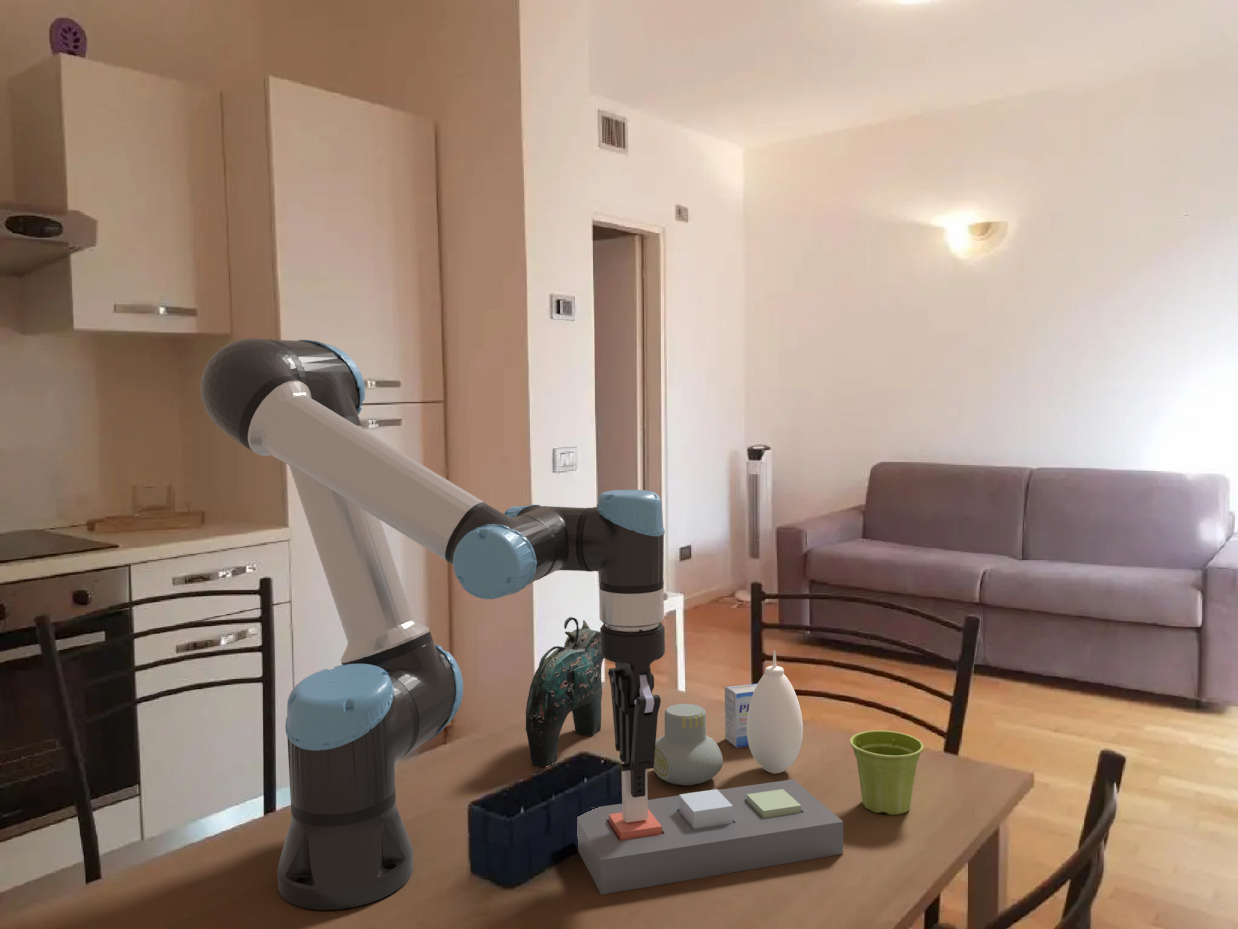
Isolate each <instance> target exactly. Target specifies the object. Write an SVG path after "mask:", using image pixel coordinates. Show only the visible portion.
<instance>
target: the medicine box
mask: <svg viewBox="0 0 1238 929" xmlns="http://www.w3.org/2000/svg"><path fill="white" fill-rule="evenodd" d="M757 684H758V683H751V684H743V685H732V686H725V687H724V738H725V739H726V741H728V742H729V744H731V745H733V746H734V747H735V748H736V749H740V748H749V744H748V739H747V715H748V710H749V705H750V702H751V698H752V695H753V693H754V690H755V688H756V686H757Z"/></svg>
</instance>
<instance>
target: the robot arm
mask: <svg viewBox="0 0 1238 929" xmlns="http://www.w3.org/2000/svg"><path fill="white" fill-rule="evenodd" d="M200 396H201V400H202V402H201V403H203V407H204V410H205V412H206V413H207V415H208V417H209V419H210V420H211V421H212V422H213V424H215V425H216V426H217V428H219V429H220V431H222V432H223V433H224V434H225V435H226V436H228V437H229V438H232V440H233V441H235V442H237V443H238V444H240V445H241V446H243V447H245V448H247V449H248V450H250V451H252V453H254V454H256V455H257V456H261V457H270V456H272V457H274V458H276V459H277V460H279V461H281V462H284V463H285V464H286V465H288V466H289V469H290V473H291V475H292V480H293V482H294V484H295V487H296V490H297V493H298V496H299V500H300V503H301V505H302V508H303V511H304V514H305V517H306V520H307V524H308V527H309V529H310V532H311V535H312V536H311V537H312V539H313V542H314V545H315V548H316V551H317V553H318V556H319V559H320V562H321V566H322V569H323V572H324V574H325V577H326V581H327V584H328V587H329V590H330V592H331V596H332V598H333V602H334V605H335V607H336V611H337V614H338V617H339V621H340V623H341V626H342V629H343V631H344V635H345V638H346V640H347V646H346V648H345V650H344V653H343V654H342V656H341V658H340V663H341V664H340V665H337V666H334V668H331V669H327V668H324V669H322V670H318V671H316V672H313V673H312V674H310V675H308V676H307V677H304V678H303V679H302V680H301V681H300V682H298V683H297V684H296V685H295V686H294V687H293V689H291V691H290V693H289V696H288V698H287V705H286V706H287V707H286V711H287V712H286V719H285V723H284V724H285V733H286V737H287V738H286V739H287V753H288V754H287V755H288V756H287V757H288V759H287V760H288V772H289V773H288V775H289V793H290V795H289V796H290V814H291V816H290V817H291V818H290V822H289V825H288V826H289V827H288V830H287V833H286V836H285V841H284V843H283V847H282V849H281V853H280V856H279V861H278V864H277V871H276V872H277V889H278V893H279V895H280V896H281V897H282V898H283V899H284V901H286V902H288V903H289V904H292V905H294V906H296V907H299V908H303V909H310V910H315V911H316V910H318V911H319V910H321V911H331V910H332V911H333V910H335V911H336V910H344V909H345V910H346V909H351V908H355V907H359V906H364V905H367V904H371V903H373V902H376V901H379V900H381V899H384V898H386V897H388V896H389V895H391V894H393V893H396V891H398V890H399V889H401V888H402V887H403V886H404V885H405V884H406V883H407V882H408V881H409V879H410V878H411V876H412V874H413V872H414V850H413V845H412V842H411V839H410V837H409V834H408V832H407V829H406V827H405V823H404V822H403V819H402V816H401V814H400V811H399V809H398V806H397V797H396V766H395V765H396V763H397V762H399V761H400V760H402V759H403V758H404V757H406V756H407V755H409V754H410V753H412V752H413V751H415V750H416V749H417V748H418V747H420V746H421V745H422V744H424V743H425V742H427V741H430V740H433V739H434V738H435V737H436V736H438V735H439V734H441V732H442V731H443V730H444V729H445V728H446V727H447V726H448V724H450V722H451V721H452V720H453V719H454V718H455V716H456V715H457V712H458V710H459V709H460V707H461V704H462V701H463V697H464V694H463V693H464V681H463V675H462V672H461V668H460V666H459V665H458V663H457V661H456V659H455V658H454V656H453V655H452V654H451V653H450V652H449V651H446V650H444V649H443V647H442V646H440V645H439V644H435V641H434V640H433V636H432V633H431V630H430V628H429V627H428V626H425V625H424V624H422V623H420V622H418V621H416V620H415V619H414V617H413V615H412V611H411V608H410V606H409V603H408V600H407V597H406V594H405V591H404V587H403V584H402V581H401V579H400V576H399V572H398V569H397V566H396V564H395V560H394V558H393V557H394V556H393V554H392V551H391V548H390V546H389V542H388V539H387V536H386V533H385V531H384V527H383V524H382V522H383V523H384V524H386V525H388V526H390V527H391V528H393V529H395V530H396V531H398V532H399V533H401V534H402V535H404V536H405V537H407V538H408V539H411V540H412V541H413V542H416V543H417V544H418V545H419V546H422V547H423V548H425V549H427V550H428V551H430V552H431V553H433V554H435V555H437V556H438V558H441V559H443V560H444V561H446V562H447V563H449V564H451V565H452V566H453V573H454V575H455V577H456V579H457V580H458V583H459V584H460V585H461V586H462V589H463V590H465V591H466V592H467V593H468V594H470V595H472V596H474V597H476V598H478V599H483V600H494V599H500V598H503V597H506V596H511V595H514V594H516V593H519V592H520V591H521V590H524V589H525V588H526V587H527V586H528V585H530V584H532V583H534V582H535V581H538V580H541V579H543V578H544V577H547V576H548V575H550V574H553V573H555V572H559V571H575V572H591V573H592V572H598V577H599V584H598V586H599V587H598V588H599V590H598V591H599V594H598V596H599V597H598V598H599V600H598V601H599V604H598V605H599V606H598V610H599V620H600V621H601V623H603V624H602V625H601V626H600V629H599V632H600V642H601V655H602V656H603V657H604V659H605V660H606V661H609V662H612V663H614V665H615V666H614V667H613V668H610V667H609V668H608V671H607V675H608V678H609V683H610V684H609V685H610V690H611V691H610V692H611V703H612V704H611V705H612V718H613V730H614V731H613V732H614V742H615V745H614V746H615V750H616V752H619V759H620V761H621V763H620V764H619V766H620V770H621V799H622V801H621V804H622V818H623V819H624V821H625V822H626V823H628V822H635V821H641V820H648V800H649V798H648V795H649V794H648V770H650V769H653V768H654V758H655V745H656V740H657V730H658V717H659V716H658V715H659V710H660V706H661V704H662V703H661V702H662V701H661V696H660V695H659V694H653V690H654V688H655V677H654V674H653V672H652V671H651V670H652V669H651V664H652V663H653V662H655V661H658V660H660V659H662V658H663V656H664V655H665V651H666V639H665V638H666V636H665V635H666V634H665V632H666V630H665V626H664V625H663V623H661V622H662V621H663V620H664V619H665V604H664V603H665V602H664V601H667V600H668V593H667V592H665V591H664V590H665V588H664V584H665V581H664V572H665V571H664V569H665V568H664V567H665V566H664V563H665V562H664V561H665V559H664V558H665V556H664V555H665V554H664V552H665V547H664V546H665V545H664V544H665V533H666V531H665V526H664V518H663V503H662V499H661V497H660V495H659V494H658V493H656V492H655V491H651V490H645V489H644V490H643V489H615V490H608V491H607V490H606V491H604V492H601V493H600V495H599V496H598V499H597V504H596V506H593V507H573V506H571V507H570V506H549V505H548V506H546V505H540V504H531V505H526V506H525V505H514V506H511V507H508V509H506V510H505V511H504V512H501V511H499V510H497V509H496V508H495V507H493V506H491V505H489V504H488V503H486V502H484V501H483V500H481V499H480V498H478V497H477V496H475V495H473V494H471V493H470V492H468V491H467V490H465V489H463V488H461V487H460V486H458V485H456V484H455V483H453V482H451V480H448V479H446V478H445V477H443V476H441V475H439V474H438V473H437V472H434V471H433V470H432V469H429V467H428V466H427V467H426V466H425V465H423V464H421V463H420V462H418V461H416V460H415V459H413V458H411V457H410V456H408V455H406V454H405V453H403V452H401V451H400V450H398V449H397V448H395V447H393V446H392V445H390V444H388V443H386V442H384V440H381V439H379V438H378V437H376V436H374V435H373V434H372V433H370V432H368V431H367V430H364V429H363V426H362V424H361V420H360V416H359V415H360V413H361V411H362V409H363V407H362V404H363V402H364V401H365V396H366V387H365V381H364V378H363V375H362V372H361V370H360V369H359V367H358V365H357V364H356V363H355V361H354V360H353V358H351V357H350V355H348V354H347V353H346V352H345V351H343V350H342V349H340V348H338V347H336V346H334V345H332V344H327V343H325V342H323V343H322V342H320V341H316V340H310V339H298V340H290V339H289V340H287V339H285V340H284V339H267V338H260V337H259V338H258V337H257V338H256V337H255V338H254V337H252V338H251V337H250V338H242V339H237V340H234V341H231V342H230V343H228V344H225V345H224V346H222V348H220V349H219V350H217V351H215V353H214V354H213V355H212V356H211V357H210V359H208V362H207V364H206V365H205V367H204V369H203V372H202V376H201V380H200Z"/></svg>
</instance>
